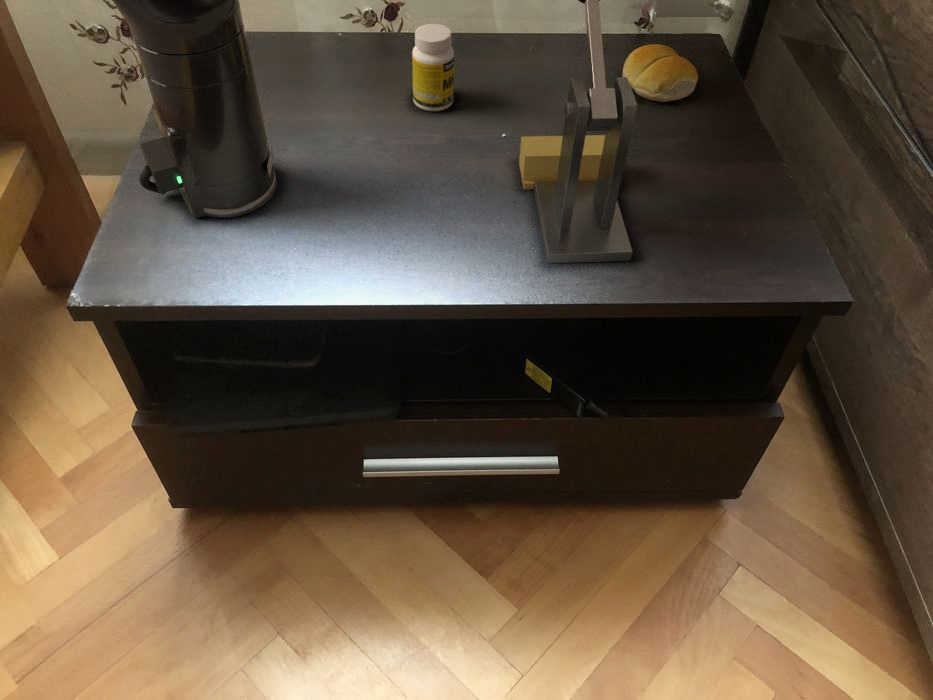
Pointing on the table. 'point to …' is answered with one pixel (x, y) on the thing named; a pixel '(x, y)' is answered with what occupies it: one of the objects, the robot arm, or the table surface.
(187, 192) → the robot arm
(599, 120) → the knife lever
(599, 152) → the butter
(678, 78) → the bread roll
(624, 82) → the stand
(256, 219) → the table surface
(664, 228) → the table surface
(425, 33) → the supplement bottle
